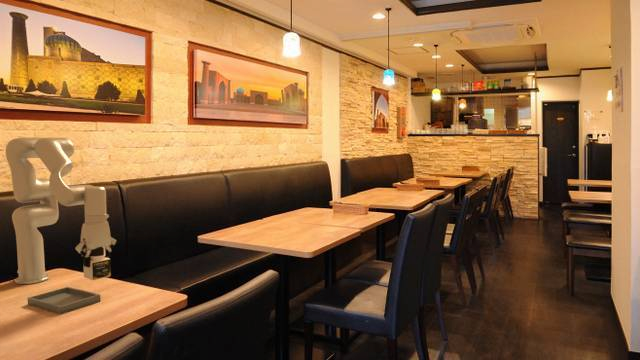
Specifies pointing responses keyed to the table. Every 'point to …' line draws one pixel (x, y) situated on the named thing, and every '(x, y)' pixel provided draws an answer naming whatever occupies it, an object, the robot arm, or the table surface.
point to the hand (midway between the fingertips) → (97, 264)
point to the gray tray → (63, 300)
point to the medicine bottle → (98, 265)
